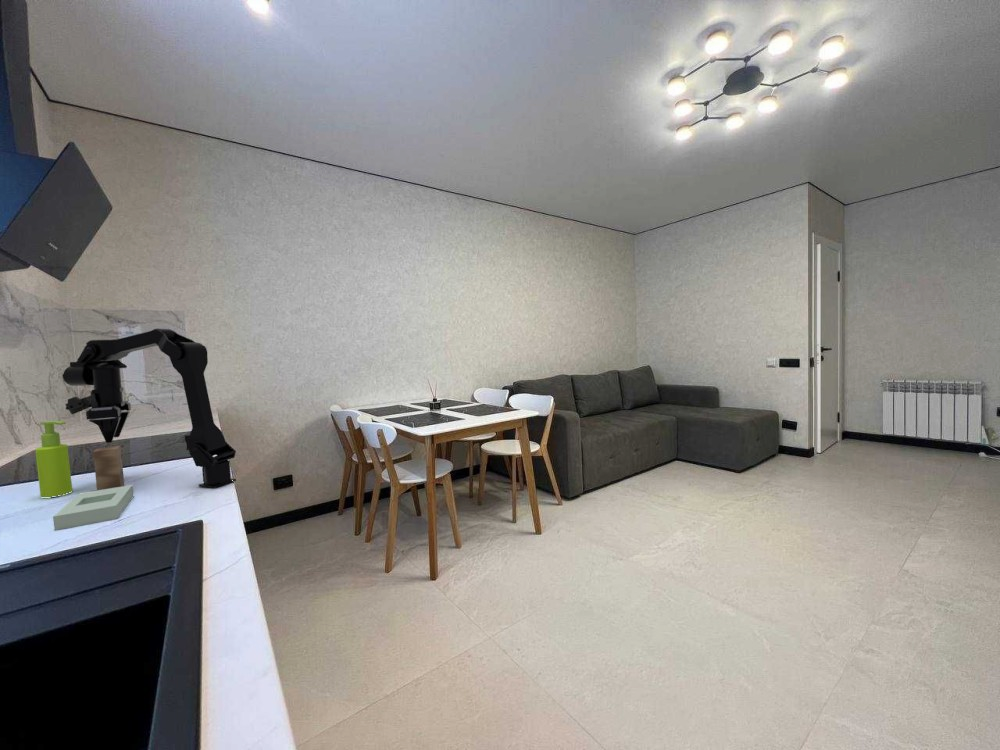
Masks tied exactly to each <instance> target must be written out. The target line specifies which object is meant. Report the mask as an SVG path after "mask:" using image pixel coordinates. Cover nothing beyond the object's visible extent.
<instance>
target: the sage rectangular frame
mask: <svg viewBox="0 0 1000 750" xmlns="http://www.w3.org/2000/svg"><path fill="white" fill-rule="evenodd" d="M133 485H134V484H130V485H125V486H122V487H116V488H110V489H103V490H97V489H96V490H93V491H92V490H91V491H86V492H81V493H78V494H77V495H76V496H75V497H74V498H72V499H71V500H70V501H69V502H68V503H67V504H66V505H65V506H63V507H62V508H61V509H59V511H58V512H57V513H55V514H54V515H53V516H52V519H53V520H52V521H53V528H54V531H58V530H64V529H68V528H69V529H70V528H74V527H79V526H80V527H81V526H86V525H90V524H91V525H92V524H96V523H101V522H105V521H112V520H116V519H119V518H120V515H122V513H123V512H124V510H125V509H126V508H127V507H128V505H129V503H130V502H131V501H130V500H132V499H133V498H132V497H134V496H133V495H134V486H133ZM131 498H132V499H131ZM129 501H130V502H129ZM127 504H128V505H127ZM124 508H125V509H124ZM122 511H123V512H122Z"/></svg>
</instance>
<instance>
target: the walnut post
mask: <svg viewBox="0 0 1000 750" xmlns="http://www.w3.org/2000/svg"><path fill="white" fill-rule="evenodd" d="M92 454H93V463H94V471H95V472H94V473H95V474H94V475H95V481H96V482H95V483H96V491H97V490H103V489H110V488H116V487H122V486H126V485H125V478H124V466H123V465H124V464H123V459H122V448H121V445H116V446H114V445H113V446H107V447H98V448H96V449H95V450H93V451H92Z"/></svg>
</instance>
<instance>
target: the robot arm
mask: <svg viewBox="0 0 1000 750" xmlns="http://www.w3.org/2000/svg"><path fill="white" fill-rule="evenodd" d="M157 346H158V348H159V350H160V352H162V353H163V354H165V355H166V356H168V357H169V360H170V363H171V366H172V367H173V369H174V370H176V372H177V373H178V374H179V375H180V376H181V379H182V383H183V388H184V393H185V398H186V403H187V408H188V412H189V416H190V420H191V421H190V423H191V427H192V428H191V431H190V434H186V435H184V441H185V443H186V444H185V445H186V451H188V454H189V455H190V456H191V457H192V460H193V462H194V464H195V466H196V467H200V468H202V469H201V471H202V473H201V474H202V481H203V483H199V484H198V487H201V488H212V489H215V488H219V487H222V486H225V485H228V484H231V483H234V482H236V481H237V479H236V478H232V477H231V476H232V475H231V464H230V460H231V459H234V458H236V453H237V451H236V450H235V449H234V448H233V447H232V446H231V445H230V444H229V443H228V442H227V441H226V439H225V437H224V433H223V431H222V430H221V429H220V428H219V427H218V426H217V425H216V424H215V422H214V421H215V420H214V415H213V412H212V408H211V402H210V397H209V393H208V388H207V383H206V378H205V377H206V376H205V371H206V368H207V366H208V362H209V361H208V350H207V347H206V346H205V345H203V344H202V343H201V342H196V341H194V340H193V339H191V338H189V337H186V336H183V335H182V334H179V333H177V332H176V331H175V330H172V329H169V328H154V329H152V330H150V331H149V330H148V331H144V332H141V333H137V334H133V335H132V334H131V335H130V336H125V337H120V338H117V339H92V340H91V339H90V340H88V341H87V342H86V345H85V346H84V348H83V350H82V352H81V353H80V355H79V357H78V358H77V360H76V361H69V366H68V367H67V368H66V369H64V372H63V374H62V379H63V381H64V382H65V383H66V384H68V385H69V386H72V387H73V386H74V387H79V386H93V389H91V390H90V395H88V396H86V397H83V398H80V397H78V396H73V397H70V398H68V399H67V403H65V404H64V405H65V409H66V410H68V411H69V414H71V415H75V414H77V413H80V412H82V411H83V410H87V411H86V412H85V416H86V420H88V421H89V422H90V423H93V424H95V425H97V426H98V429H99V431H100V432H101V434H102V435H101V436H103V439H104V441H105V443H107V444H110V443H112V442H113V440H114V439H115V438H119V437H120V436H121V433H122V430H123V429H124V426H125V424H126V421H127V420H128V417H129V414H130V413H131V410H132V405H131V403H130V402H128V401H127V400H124V397H123V392H124V387H123V386H122V377H121V369H126V368H127V367H128V366H127V365H126V363H123V362H121V359H123V358H126V357H128V355H129V354H130V353H133V352H137V351H141V350H145V349H149V348H152V347H153V348H154V347H157ZM232 480H233V482H232Z"/></svg>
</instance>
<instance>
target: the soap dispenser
mask: <svg viewBox="0 0 1000 750" xmlns="http://www.w3.org/2000/svg"><path fill="white" fill-rule="evenodd" d="M67 423H68V422H67V421H64V420H49V421H44V422H40V423H39V425H40V426H43V425H44V432H45V433H43V434H41V435H40V440H41V446H40V447H37V448H35V458H36V459H35V460H36V469H37V478H38V484H39V495H40V498H41V497H52V496H58V495H63V494H66V493H69V492H71V491H72V492H73V485H72V475H71V467H70V465H71V464H70V458H69V457H70V456H69V450H68V449H69V448H68V444H66V443H64V444H62V443H61V435H60V432H56V431H55V425H57V426H59V425H65V424H67Z"/></svg>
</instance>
